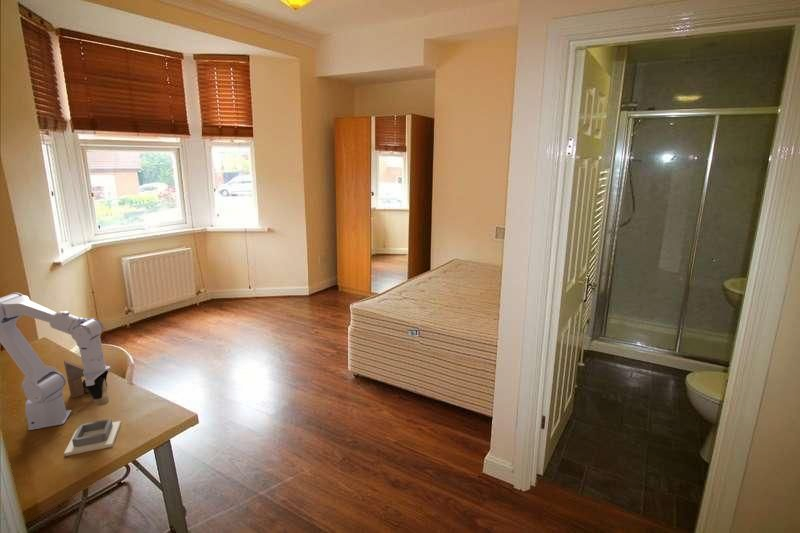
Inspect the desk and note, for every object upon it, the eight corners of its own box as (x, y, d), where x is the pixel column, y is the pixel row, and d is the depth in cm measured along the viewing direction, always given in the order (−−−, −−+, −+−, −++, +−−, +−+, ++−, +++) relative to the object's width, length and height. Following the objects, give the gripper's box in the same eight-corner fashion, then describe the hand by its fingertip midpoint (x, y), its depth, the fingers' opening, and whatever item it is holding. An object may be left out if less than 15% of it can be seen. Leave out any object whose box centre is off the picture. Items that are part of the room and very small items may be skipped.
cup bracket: (64, 456, 123) (62, 445, 122) (77, 431, 134) (75, 422, 133) (112, 446, 127) (110, 436, 127) (121, 423, 138) (119, 414, 137)
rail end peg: (92, 407, 135) (88, 385, 133) (95, 400, 138) (91, 379, 136) (107, 404, 136) (103, 382, 134) (110, 398, 140) (106, 376, 138)
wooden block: (70, 394, 154) (61, 350, 149) (104, 383, 162) (97, 340, 157) (72, 398, 152) (63, 353, 147) (107, 387, 159) (99, 343, 155)
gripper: (102, 364, 128) (109, 403, 132) (112, 345, 141) (118, 381, 145) (74, 369, 126) (82, 408, 129) (87, 349, 138) (94, 385, 142)
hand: (99, 394), depth 137 cm, fingers closed on rail end peg, 4 cm apart
